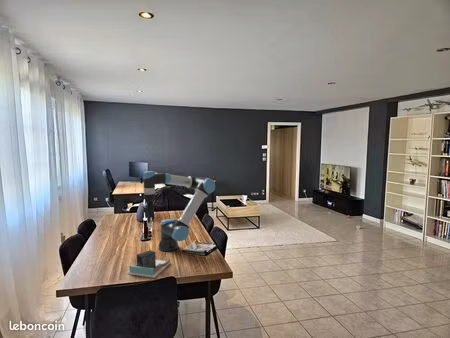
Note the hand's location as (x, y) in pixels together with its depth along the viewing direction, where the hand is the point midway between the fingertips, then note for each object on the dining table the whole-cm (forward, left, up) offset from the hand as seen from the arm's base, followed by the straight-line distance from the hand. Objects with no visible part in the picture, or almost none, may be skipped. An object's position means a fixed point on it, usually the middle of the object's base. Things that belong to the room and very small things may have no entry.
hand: (149, 226), depth 196 cm
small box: (+15, +6, -23) cm, 28 cm away
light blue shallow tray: (+11, +6, -24) cm, 27 cm away
